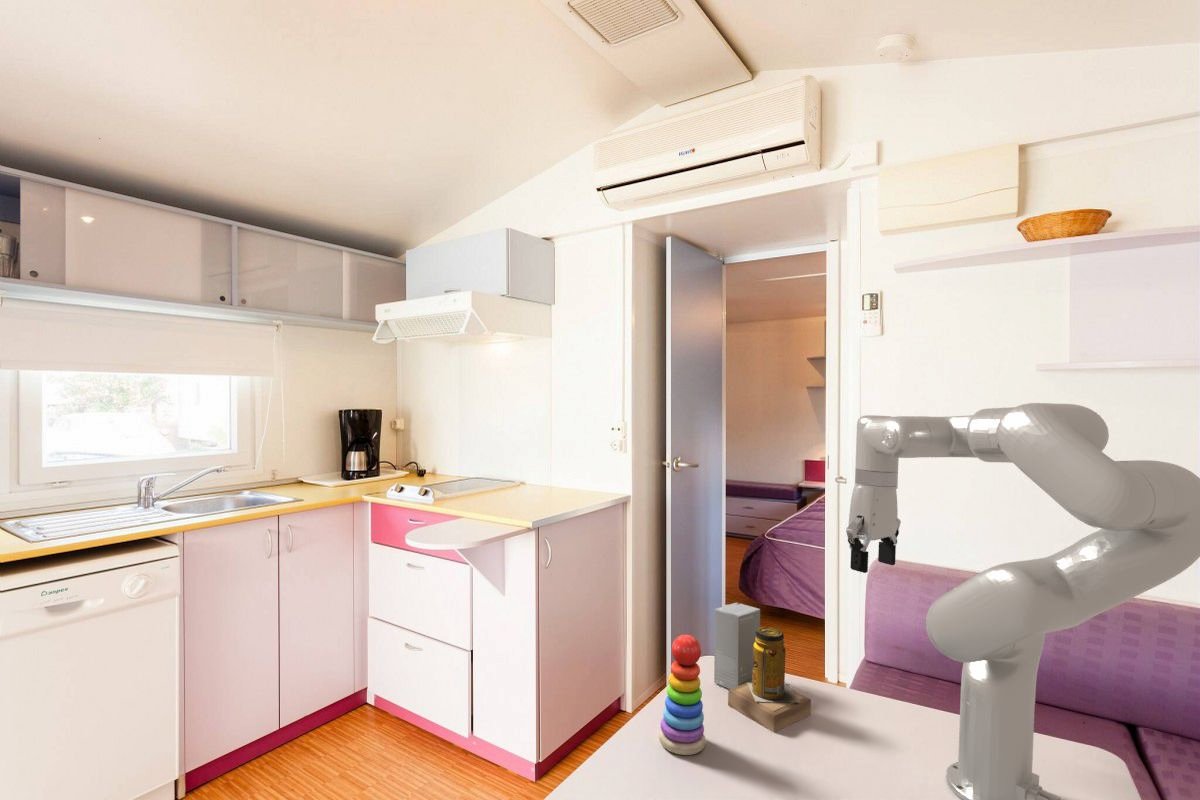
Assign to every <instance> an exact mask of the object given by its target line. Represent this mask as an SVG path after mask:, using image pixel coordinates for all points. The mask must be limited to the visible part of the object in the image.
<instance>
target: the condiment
mask: <svg viewBox="0 0 1200 800" xmlns="http://www.w3.org/2000/svg"><path fill="white" fill-rule="evenodd" d="M784 639H785V636H784V633H783V632H782V631H781V630H780V629H777V628H774V627H768V626H766V627H763V626H762V627H760V628H759V629H757V631H756V639H755V640H756V642H755V643H754V648H753V675H752V676H753V677H752V678H753V680H752V683H747V684H748V687H749V689H750V691H751V693H752V695H753V697H754V699H755V701H759V702H789V703H792V702H800V701H799V700H798V698H797V697H796V695H795V693H794V692H793V690H794V689H792V687H791V685H790V684H789V683H788V684H787V683H785V681H786V679H785V676H786V675H785V674H786V651H787V650H786V648H785V641H784Z"/></svg>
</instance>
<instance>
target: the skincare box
mask: <svg viewBox="0 0 1200 800" xmlns="http://www.w3.org/2000/svg"><path fill="white" fill-rule="evenodd" d="M759 628H761V609H760V608H757V607H754V606H751V605H747V604H744V603H740V602H733V603H730V604H724V605H722V606H720V607H717V608H715V609H714V670H713V671H714V674H713V675H714V676H713V679H714V681H713V682H714V684H715V685H719V686H721V687H724V688H725V689H727V690H730V689H732V688H735V687H738V686H740V685H743V684H745V683H748V682H750V681H752V680H753V678H752V677H753V676H752V675H753V648H754V643H755V642H756V640H755V639H756V631H757V629H759Z"/></svg>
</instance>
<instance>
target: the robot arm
mask: <svg viewBox="0 0 1200 800" xmlns="http://www.w3.org/2000/svg"><path fill="white" fill-rule="evenodd" d="M1107 425H1108V424H1107V423H1106V421H1105V420H1104V418H1103V417H1102V416H1101V415H1100V414H1098V412H1095V411H1094V410H1092V409H1091V408H1088V407H1086V406H1083V405H1079V404H1074V403H1073V404H1072V403H1051V402H1049V403H1048V402H1030V403H1029V402H1028V403H1024V404H1020V405H1017V406H1015V407H1014V406H1013V407H997V408H996V407H994V408H993V407H992V408H991V407H990V408H983V409H979V410H978V411H976V412H975V413H974V414H970V415H957V416H956V415H955V416H953V415H952V416H926V415H924V416H923V415H922V416H921V415H920V416H917V415H916V416H914V415H913V416H911V415H910V416H907V415H906V416H905V415H904V416H902V415H898V416H890V415H878V414H877V415H872V414H871V415H869V414H868V415H862V416H860V417H859V418H858V419H857V423H856V439H855V444H856V445H855V470H854V471H855V472H854V473H855V474H854V486H853V489H852V492H851V498H850V505H849V506H850V507H849V514H848V526H847V527H846V530H845V532H846V535H847V543H848V545H849V546H848V547H849V549H850V570H852V571H856V572H860V573H863V574H866V573H868V571H869V569H868V568H869V551H867V549H868V547H869V545H870V542H871V541H878V540H880V541H879V542H878V557H877V558H878V559H877V560H878V562H879V563H880V564H881V563H882V564H884V565H885V564H886V565H889V566H895V565H896V557H897V556H896V553H897V552H896V551H897V550H896V549H897V544H898V536H899V534H900V526H901V522H902V521H901V519H899V517H898V497H897V495H898V494H897V489H898V488H899V487H898V486H899V485H898V484H899V483H898V482H899V481H898V480H899V476H898V475H899V459H915V458H917V459H918V458H971V459H972V458H975V459H979V460H980V461H983V462H985V463H986V462H987V463H1009V464H1010V463H1011V464H1013V465H1014V466H1016V468H1017V469H1019V470H1020V471H1021V472H1022V473H1023V474H1024V475H1025V476H1027V478H1028V479H1030V480H1031V481H1032V482H1033V483H1034V484H1036V485H1037V486H1038V487H1039V488H1040V489H1042V491H1043V492H1045V493H1046V494H1047V495H1048V496H1049V497H1050V498H1052V500H1054V501H1055V502H1056V503H1057V504H1058V505H1059V506H1060V507H1061V508H1063V509H1064V511H1066V512H1068V513H1069V514H1070V515H1071V516H1073V517H1074V518H1075V519H1077V520H1079V521H1080V522H1082V523H1083V524H1085V525H1087V526H1090V527H1092V528H1094V529H1098V530H1097V531H1095V532H1093V533H1092V532H1091V534H1088V535H1086V536H1085V537H1082V538H1080V539H1079V540H1077V541H1076V542H1074V543H1073V544H1071V545H1069V546H1067V547H1066V548H1064V549H1062V550H1059V551H1058V552H1056V553H1054V554H1051V555H1048V556H1046V557H1041V558H1034V559H1029V560H1028V559H1026V560H1018V561H1010V562H1004V563H1001V564H997V565H995V566H991V567H989V568H986V569H985V570H983V571H981V572H979V573H978V574H976V575H974V576H972V577H971V578H969V579H968V580H966V581H964V582H962V583H960V584H959V585H957V586H955V587H954V588H952V589H951V590H949V591H948V592H946V593H944V594H943V595H941V596H939V597H938V598H937V599H936V600H935V601H933V603H932V604H931V605H930V607H929V609H928V611H927V614H926V618H925V619H926V620H925V628H926V629H925V630H926V633H927V636H928V639H929V640H930V642H931V643H932V645H933V646H934V647H935V649H936V650H937V651H939V652H940V653H941V654H942V655H944V656H945V657H947V658H948V659H951V660H953V661H956V662H959V663H962V664H963V665H962V669H961V681H960V682H961V683H960V700H959V701H960V703H959V706H960V707H959V708H960V709H959V729H958V730H959V733H958V756H957V757H958V759H957V760H958V761H957V762H955V763H952V764H950V765H949V766H947V769H946V777H945V778H946V782H947V785H948V786H949V788H950V789H951V790H952V791H953V793H954V794H956V795H957V797H959V798H960V799H961V800H1062V797H1061V796H1058V795H1056V794H1055V793H1053V792H1049V791H1047V790H1045V789H1043V787H1042V786H1041V785H1039V784H1040V775H1038V774H1036V773H1034V772H1033V759H1034V758H1033V757H1034V755H1033V753H1034V731H1035V726H1034V725H1035V705H1036V691H1037V676H1038V670H1039V667H1040V666H1039V665H1040V661H1041V660H1040V659H1041V656H1042V654H1043V649H1044V646H1045V645H1044V644H1045V639H1046V634H1047V633H1048V634H1049V633H1053V632H1058V631H1065V630H1067V629H1071V628H1075V627H1077V626H1080V625H1081V624H1083V623H1085V622H1088V621H1089V620H1091V619H1092V618H1094V617H1096V616H1097V615H1101V614H1103V613H1105V612H1106V611H1109V610H1110V609H1111V610H1112V609H1113V608H1115V607H1117V606H1121V605H1122V604H1123V603H1126V602H1128V601H1130V600H1131V599H1134V598H1135V597H1137V596H1139V595H1141V594H1144V593H1147V591H1149V590H1152V589H1154V588H1156V587H1158V586H1160V585H1161V584H1163V583H1164V584H1165V583H1166V582H1168V581H1169V580H1171V579H1173V578H1175V577H1176V576H1178V575H1180V574H1181V573H1183V572H1184V571H1186V570H1187V569H1188V568H1190V567H1191V566H1193V564H1194V563H1196V562H1197V560H1199V558H1200V477H1199V476H1198V475H1196V474H1195V473H1194V472H1193V471H1191V470H1189V469H1187V468H1185V467H1183V466H1181V465H1177V464H1174V463H1171V462H1165V461H1159V460H1149V459H1148V460H1147V459H1145V460H1144V459H1143V460H1114V459H1113V458H1111V457H1110V456H1108V455H1107V454H1105V453H1104V452H1103V451H1104V449H1106V447H1107V444H1108V442H1109V436H1110V435H1109V428H1108V426H1107ZM861 540H862V541H861Z"/></svg>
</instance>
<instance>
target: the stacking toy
mask: <svg viewBox="0 0 1200 800" xmlns="http://www.w3.org/2000/svg"><path fill="white" fill-rule="evenodd" d="M671 654H672V657H673V659H674V662H672V664H671V666H670V671H671V673H670V674H669V676H668V683H669V685H668V686H667V687H666V688H667V689H666V693H667V696H666V697H665V699H664V700H665V701H664V704H665V705H664V706H665V707H664V709H663V717H662V718H661V720H660V731H659V734H658V739H659V743H660V744H661V745H662V746H663V747H664V748H665V749H666V750H667V751H669V752H671V753H672V754H676V755H680V756H690V755H691V756H692V755H695V754H698V753H699V752H701V751H702V750H703V749H704V747H705V745H706V736H705V734H704V732H705V725H704V724H703V723H704V720H705V716H704V715H705V714H704V712H703V709H704V704H703V701H702V695H703V693H702V691H703V690H702V689H701V687H700V686H701V679H700V677H699V676H700V674H701V668H700V666H699V664H698V663H697V662H699V659H700V658H701V654H702V647H701V645H700V642H699V641H698V639H697V638H696V637H694V636H692V635H690V634H681V635H679V636H677V637H676V638H675V639H674V640H673V642H672V645H671Z"/></svg>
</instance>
